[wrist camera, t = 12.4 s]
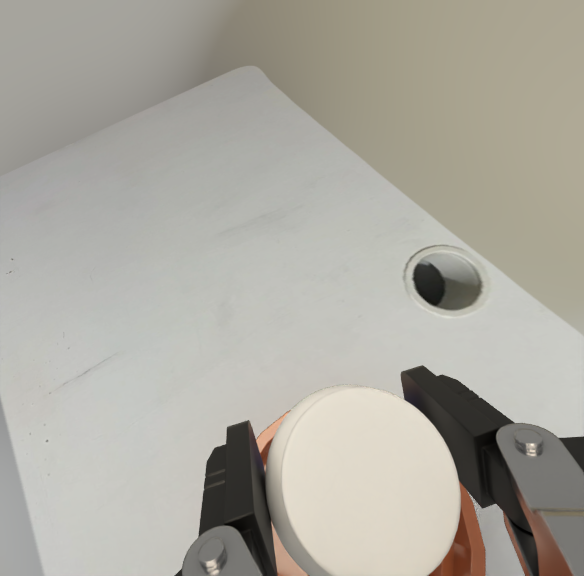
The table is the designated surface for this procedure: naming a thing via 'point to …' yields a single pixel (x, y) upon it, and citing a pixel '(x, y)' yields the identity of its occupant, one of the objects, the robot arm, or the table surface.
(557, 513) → the robot arm
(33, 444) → the table surface
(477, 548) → the bowl
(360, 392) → the pill bottle
